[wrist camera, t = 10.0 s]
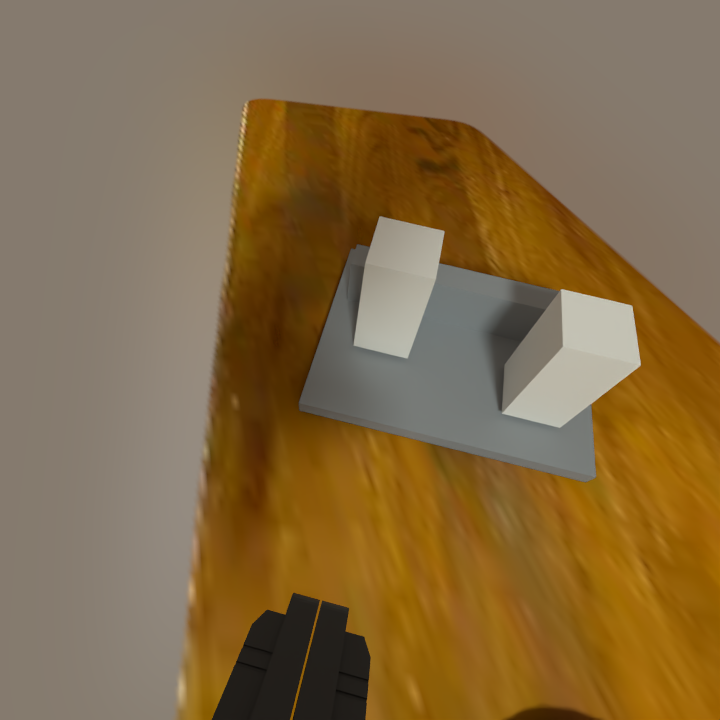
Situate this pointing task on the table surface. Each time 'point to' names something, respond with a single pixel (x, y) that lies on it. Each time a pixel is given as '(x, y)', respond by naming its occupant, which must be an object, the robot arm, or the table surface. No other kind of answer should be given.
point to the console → (445, 373)
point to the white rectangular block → (570, 358)
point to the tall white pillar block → (396, 285)
